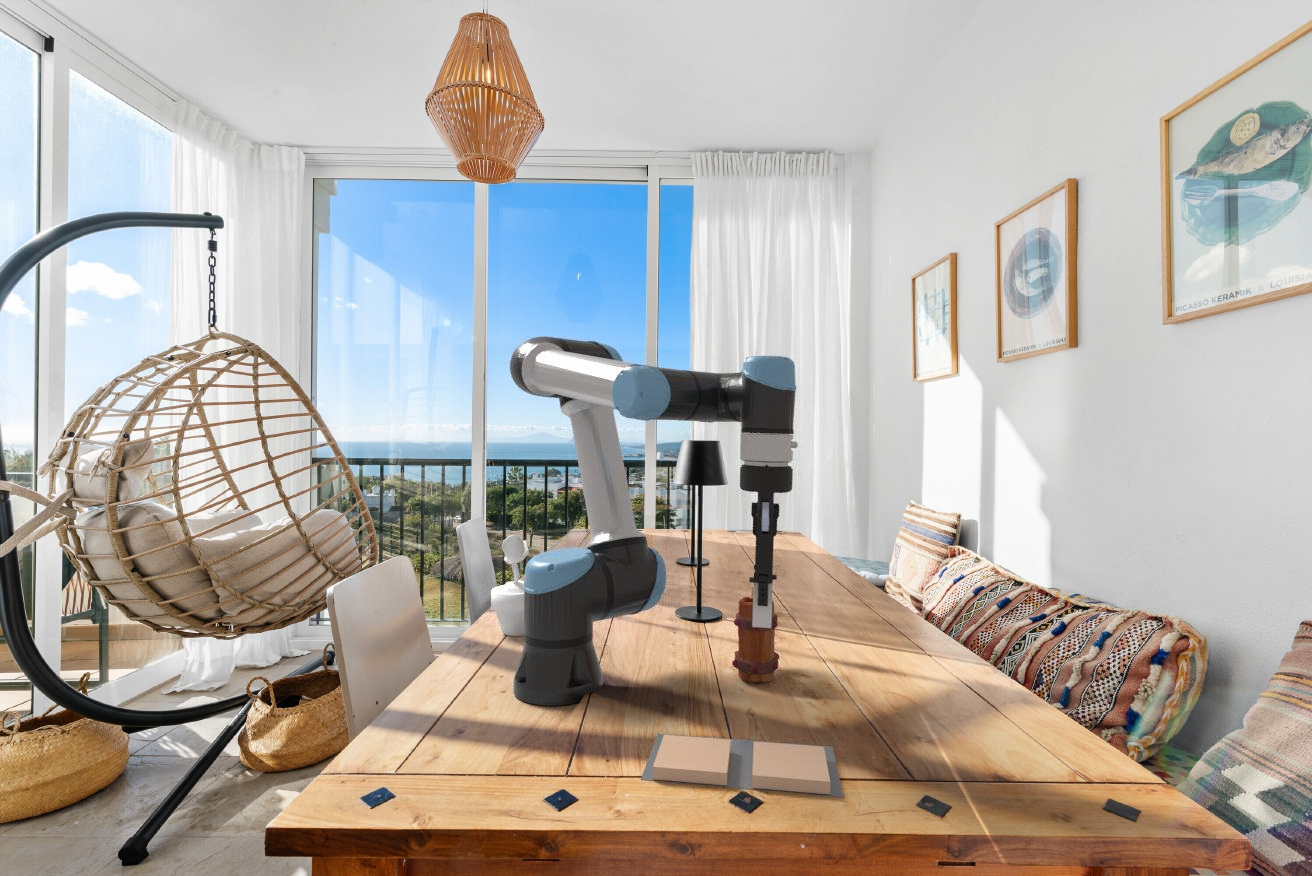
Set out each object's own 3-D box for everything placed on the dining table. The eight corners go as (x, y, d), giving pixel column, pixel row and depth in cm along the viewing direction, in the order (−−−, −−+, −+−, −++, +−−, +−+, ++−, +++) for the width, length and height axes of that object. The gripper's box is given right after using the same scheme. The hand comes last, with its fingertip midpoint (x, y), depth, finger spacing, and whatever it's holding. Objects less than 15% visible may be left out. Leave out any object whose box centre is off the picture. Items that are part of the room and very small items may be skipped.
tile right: (753, 754, 88) (752, 789, 79) (753, 741, 88) (752, 775, 79) (823, 759, 86) (830, 795, 77) (823, 746, 86) (830, 781, 78)
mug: (778, 690, 114) (778, 602, 114) (730, 686, 115) (731, 599, 116) (780, 662, 128) (780, 584, 128) (737, 659, 130) (737, 582, 130)
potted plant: (534, 641, 141) (534, 523, 141) (482, 639, 143) (482, 522, 143) (552, 625, 153) (553, 517, 154) (504, 623, 155) (505, 516, 155)
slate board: (640, 789, 81) (640, 779, 81) (657, 742, 94) (657, 733, 94) (843, 807, 77) (843, 797, 77) (832, 755, 90) (832, 746, 90)
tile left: (663, 747, 90) (652, 780, 81) (664, 734, 90) (652, 766, 81) (730, 752, 88) (727, 786, 79) (730, 739, 88) (726, 773, 79)
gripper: (795, 467, 89) (790, 642, 90) (790, 462, 102) (786, 615, 102) (738, 465, 90) (734, 638, 91) (741, 460, 103) (737, 611, 104)
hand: (761, 625), depth 97 cm, fingers closed
